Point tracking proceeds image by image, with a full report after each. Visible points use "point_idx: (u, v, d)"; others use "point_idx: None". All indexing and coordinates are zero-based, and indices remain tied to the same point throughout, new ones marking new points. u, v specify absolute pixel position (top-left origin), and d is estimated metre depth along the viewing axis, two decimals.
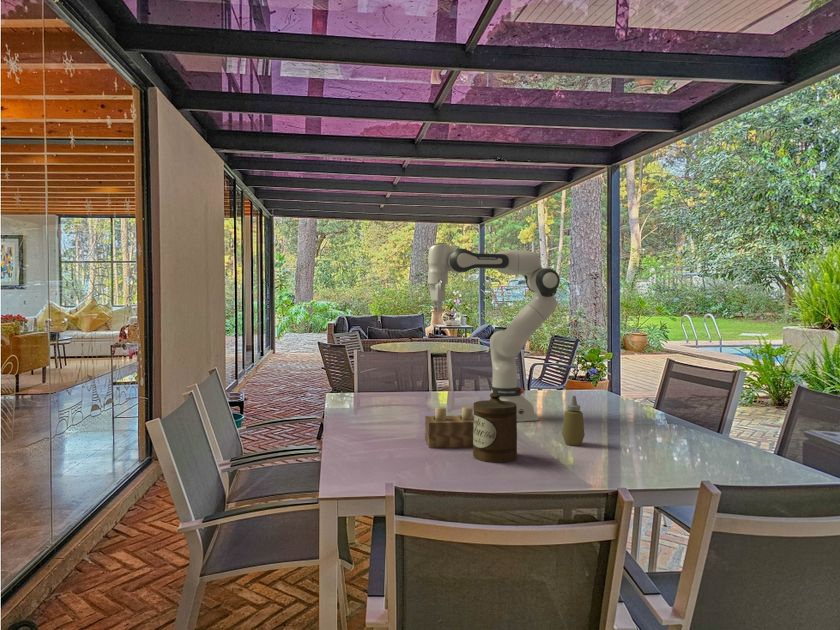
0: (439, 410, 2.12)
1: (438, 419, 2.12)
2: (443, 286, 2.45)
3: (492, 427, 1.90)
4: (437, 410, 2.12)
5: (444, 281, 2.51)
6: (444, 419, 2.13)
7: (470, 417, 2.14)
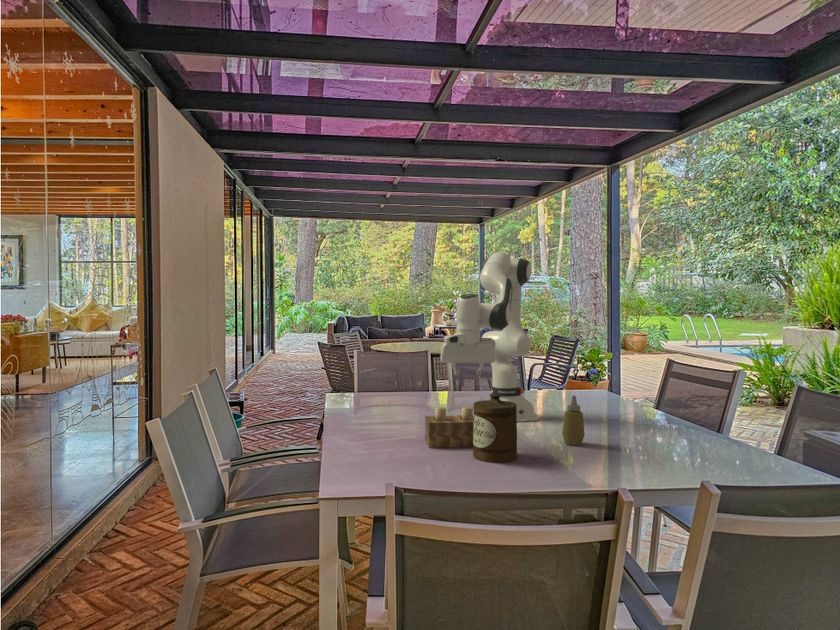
0: (439, 410, 2.12)
1: (438, 419, 2.12)
2: None
3: (492, 428, 1.90)
4: (437, 410, 2.12)
5: None
6: (444, 419, 2.13)
7: (470, 417, 2.14)
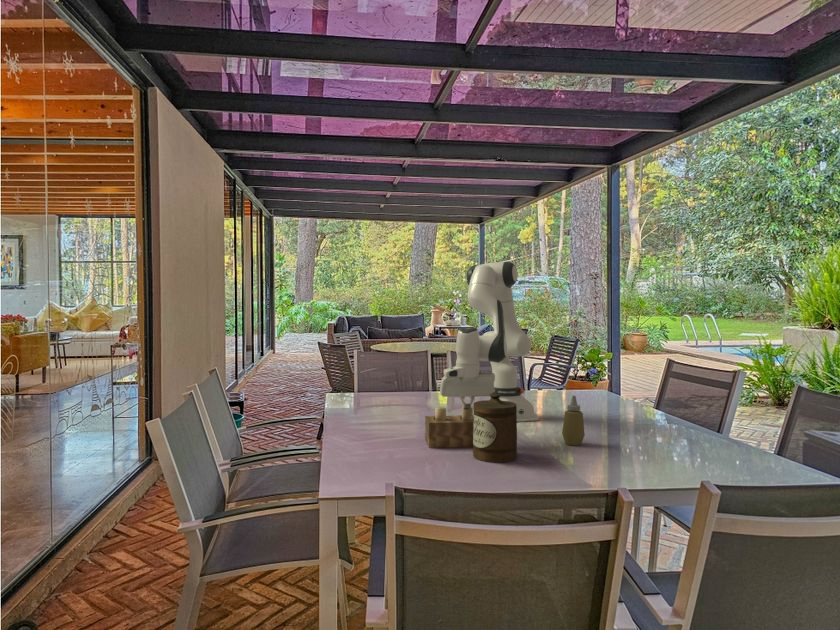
0: (439, 410, 2.12)
1: (438, 419, 2.12)
2: None
3: (492, 428, 1.90)
4: (437, 410, 2.12)
5: None
6: (444, 419, 2.13)
7: (470, 417, 2.14)
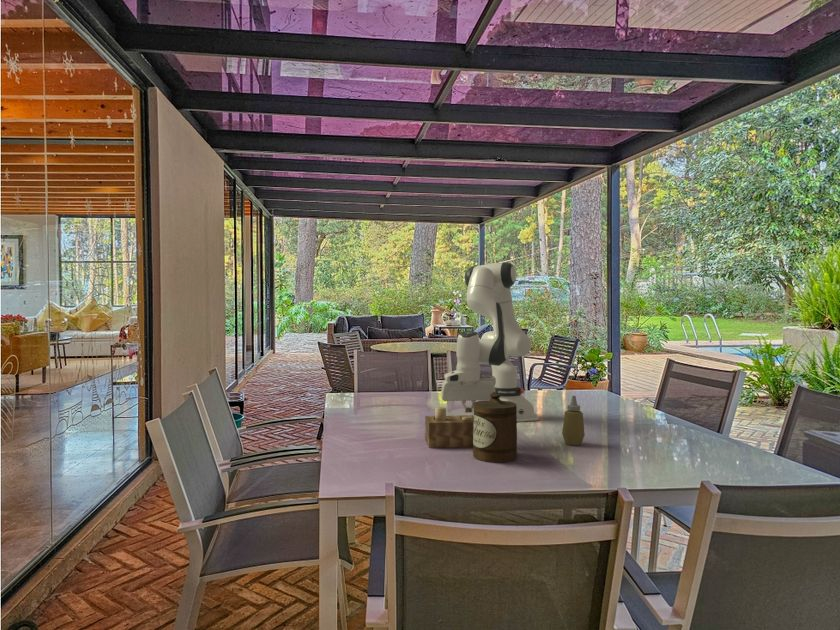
0: (439, 410, 2.12)
1: (438, 419, 2.12)
2: None
3: (492, 428, 1.90)
4: (437, 410, 2.12)
5: None
6: (444, 419, 2.13)
7: None
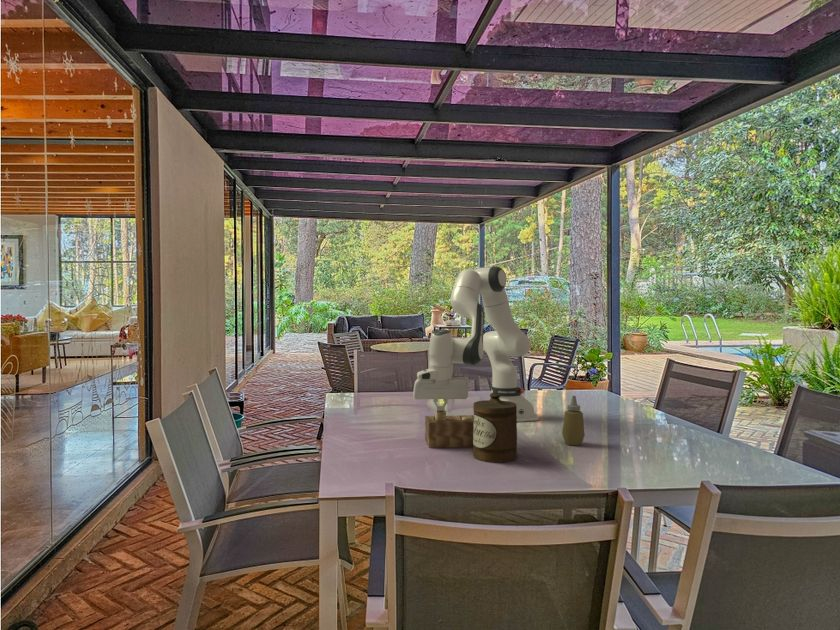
0: (439, 413, 2.12)
1: None
2: None
3: (492, 428, 1.90)
4: (437, 413, 2.13)
5: None
6: None
7: None
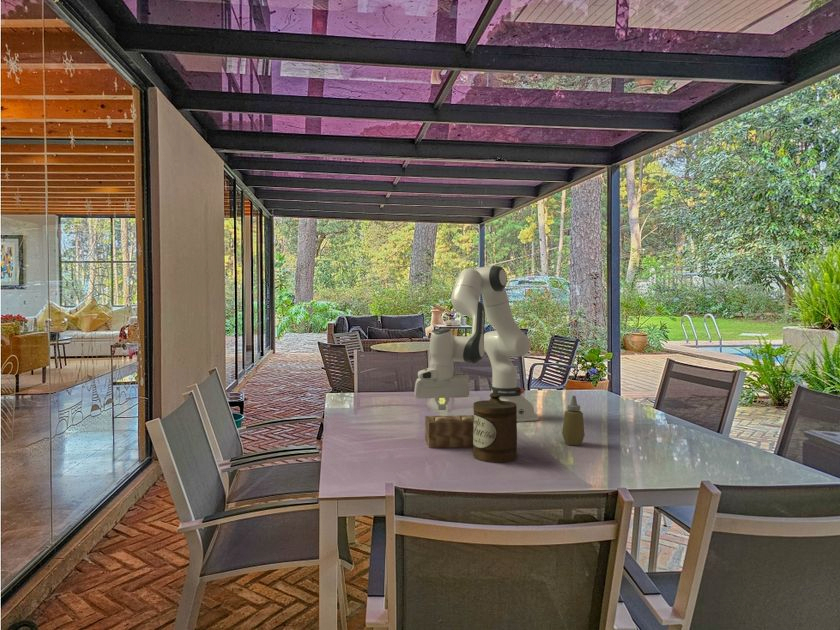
0: (439, 420, 2.12)
1: None
2: None
3: (492, 428, 1.90)
4: (437, 420, 2.13)
5: None
6: None
7: None
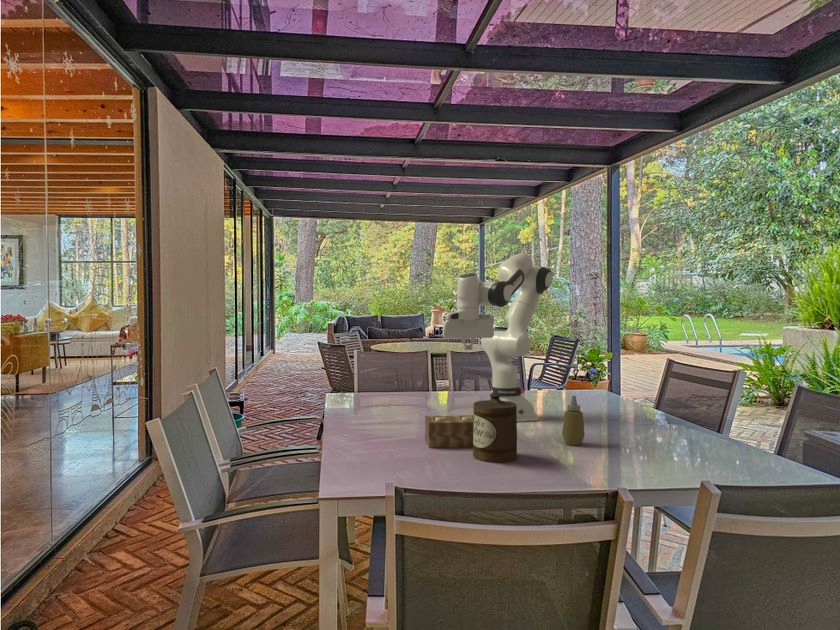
0: (439, 420, 2.12)
1: None
2: None
3: (492, 428, 1.90)
4: (437, 420, 2.13)
5: None
6: None
7: None
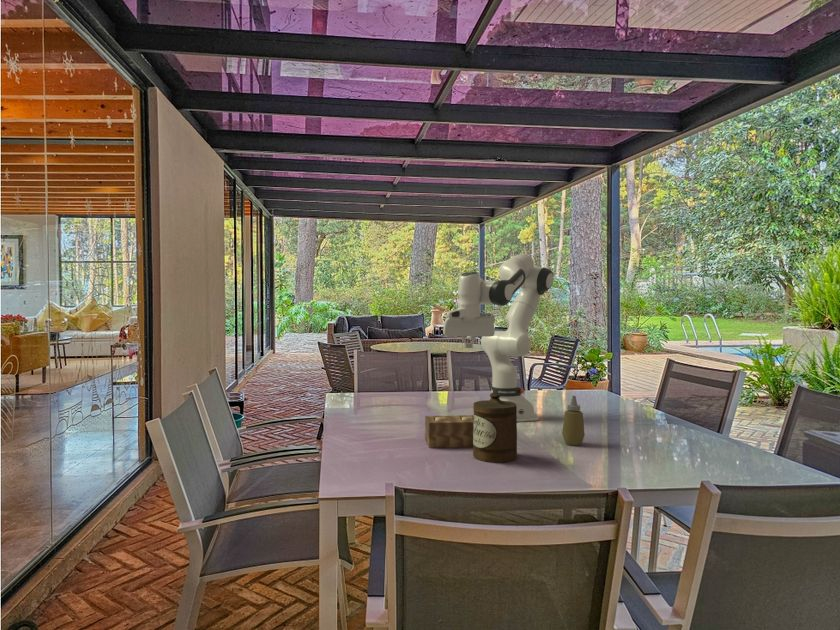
0: (439, 420, 2.12)
1: None
2: None
3: (492, 427, 1.90)
4: (437, 420, 2.13)
5: None
6: None
7: None
